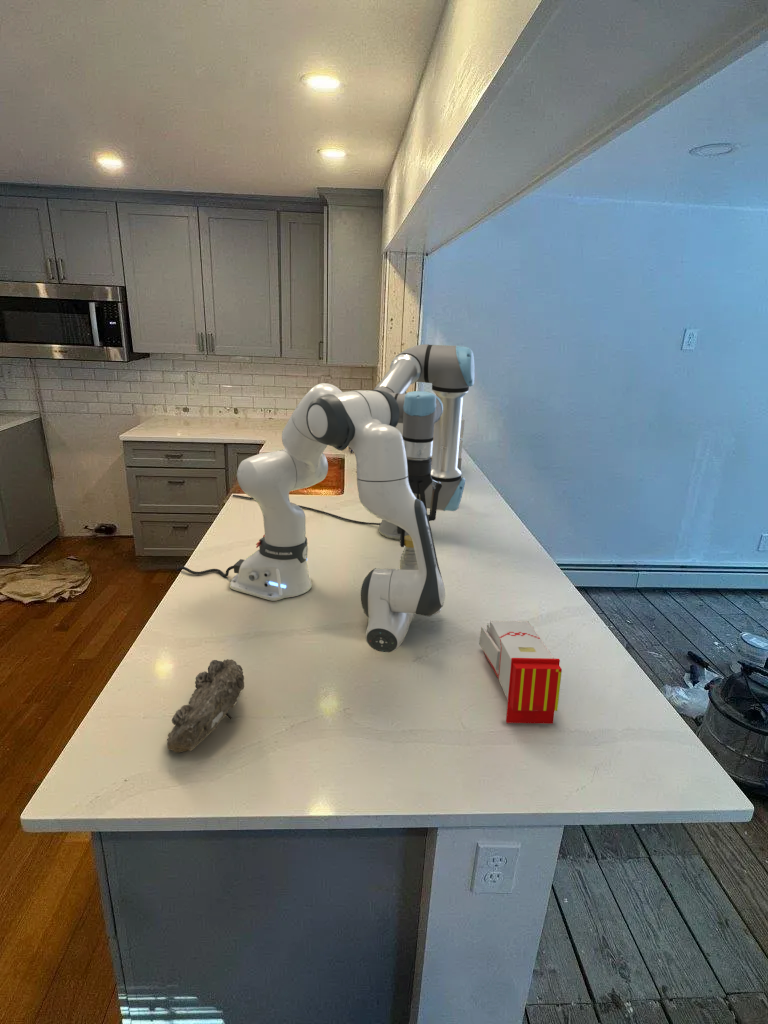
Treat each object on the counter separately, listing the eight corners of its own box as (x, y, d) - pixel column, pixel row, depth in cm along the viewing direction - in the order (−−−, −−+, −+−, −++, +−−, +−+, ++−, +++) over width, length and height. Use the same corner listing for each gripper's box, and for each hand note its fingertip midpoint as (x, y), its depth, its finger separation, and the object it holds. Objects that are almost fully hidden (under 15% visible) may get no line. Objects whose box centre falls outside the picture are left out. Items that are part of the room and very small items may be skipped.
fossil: (192, 660, 117) (244, 628, 112) (224, 691, 120) (276, 661, 115) (142, 746, 98) (202, 712, 93) (182, 779, 101) (242, 748, 96)
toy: (526, 605, 135) (570, 665, 105) (521, 658, 137) (563, 730, 108) (475, 604, 134) (506, 664, 105) (472, 657, 137) (500, 729, 108)
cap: (420, 547, 145) (421, 540, 144) (404, 548, 144) (405, 541, 143) (416, 541, 148) (417, 534, 148) (401, 541, 148) (401, 535, 147)
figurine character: (360, 456, 306) (360, 446, 319) (360, 443, 303) (361, 433, 316) (347, 455, 306) (348, 446, 319) (348, 442, 302) (349, 433, 316)
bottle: (414, 611, 149) (419, 544, 143) (395, 608, 150) (399, 542, 144) (418, 602, 154) (422, 537, 147) (399, 599, 155) (403, 534, 148)
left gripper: (440, 602, 135) (448, 577, 147) (358, 589, 139) (372, 566, 152) (438, 625, 137) (446, 599, 150) (357, 612, 141) (372, 587, 154)
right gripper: (448, 453, 142) (441, 539, 150) (380, 452, 141) (377, 539, 149) (453, 461, 135) (446, 551, 143) (382, 459, 134) (378, 550, 142)
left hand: (408, 582), depth 151 cm, fingers closed on bottle, 5 cm apart
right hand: (410, 544), depth 146 cm, fingers closed on cap, 4 cm apart
